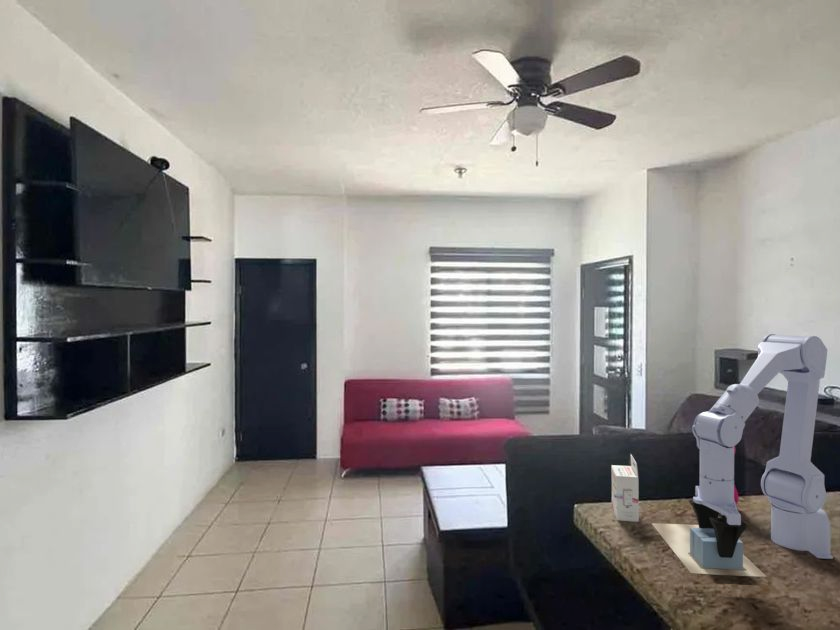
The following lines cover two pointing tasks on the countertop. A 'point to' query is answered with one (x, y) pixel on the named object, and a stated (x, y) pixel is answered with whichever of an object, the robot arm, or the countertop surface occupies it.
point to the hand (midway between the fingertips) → (716, 547)
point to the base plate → (680, 544)
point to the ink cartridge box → (625, 491)
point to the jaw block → (713, 550)
